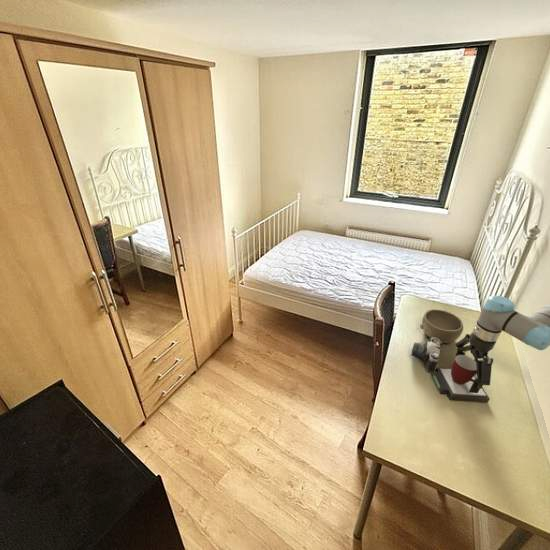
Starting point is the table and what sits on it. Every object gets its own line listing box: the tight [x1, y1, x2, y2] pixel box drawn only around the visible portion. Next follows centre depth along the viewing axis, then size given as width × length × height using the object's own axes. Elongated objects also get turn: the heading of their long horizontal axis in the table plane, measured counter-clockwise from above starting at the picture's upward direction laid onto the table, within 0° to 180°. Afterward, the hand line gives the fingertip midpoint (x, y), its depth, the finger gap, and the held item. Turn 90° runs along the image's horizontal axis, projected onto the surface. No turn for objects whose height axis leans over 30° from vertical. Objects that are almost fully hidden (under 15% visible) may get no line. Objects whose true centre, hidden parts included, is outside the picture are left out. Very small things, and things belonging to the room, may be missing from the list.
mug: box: [450, 354, 477, 385], centre depth 112 cm, size 10×8×10 cm
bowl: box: [419, 308, 464, 344], centre depth 141 cm, size 17×18×10 cm
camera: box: [411, 337, 443, 374], centre depth 127 cm, size 16×10×10 cm, turn 153°
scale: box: [431, 367, 491, 404], centre depth 116 cm, size 14×17×3 cm
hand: (464, 377), depth 114 cm, fingers open, 13 cm apart
